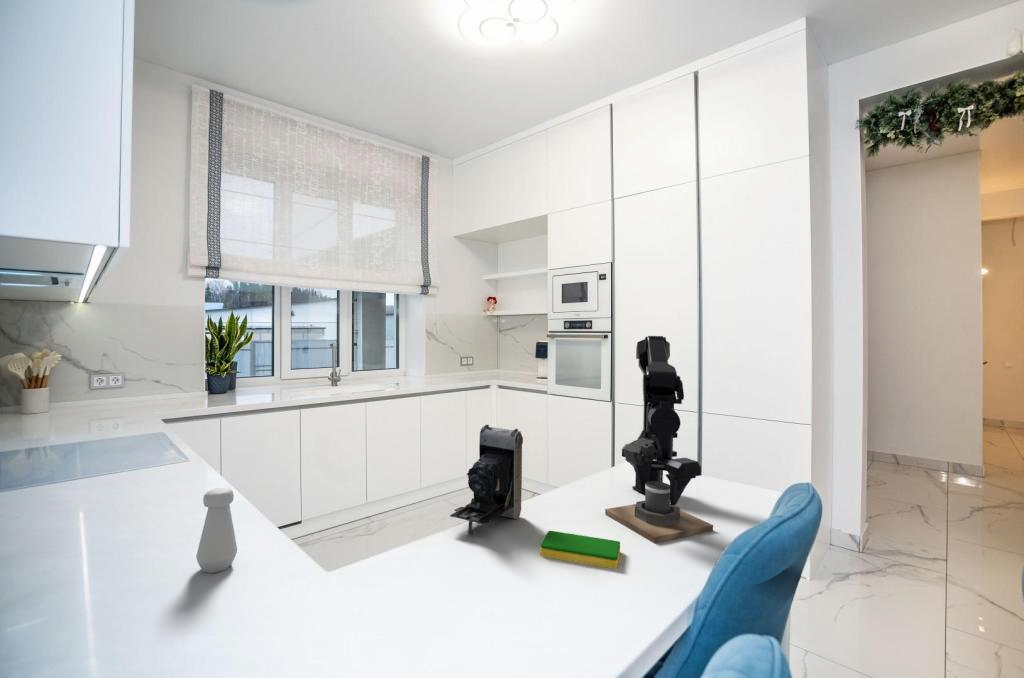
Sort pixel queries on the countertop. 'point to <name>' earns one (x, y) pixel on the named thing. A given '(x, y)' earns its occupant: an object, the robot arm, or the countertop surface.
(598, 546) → the dish sponge
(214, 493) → the salt shaker
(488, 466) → the vintage camera
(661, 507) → the lens
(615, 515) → the mount
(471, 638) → the countertop surface
